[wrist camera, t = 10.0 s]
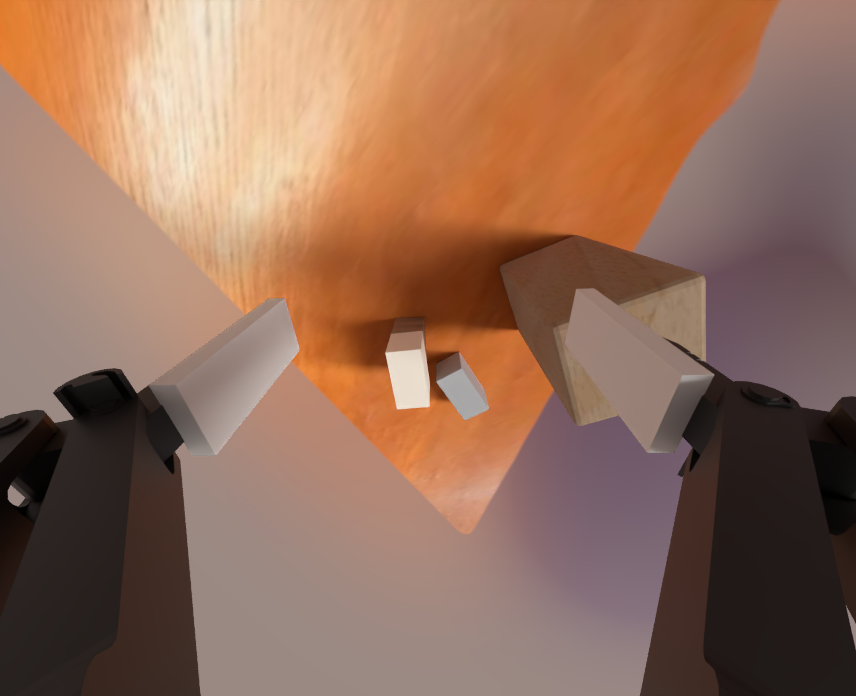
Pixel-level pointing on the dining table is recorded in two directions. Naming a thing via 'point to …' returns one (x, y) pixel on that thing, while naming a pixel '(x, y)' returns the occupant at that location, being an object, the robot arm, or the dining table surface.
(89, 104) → the dining table surface
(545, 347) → the wooden block
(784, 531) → the robot arm
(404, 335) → the cream brick
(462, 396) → the slate brick
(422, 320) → the walnut brick
